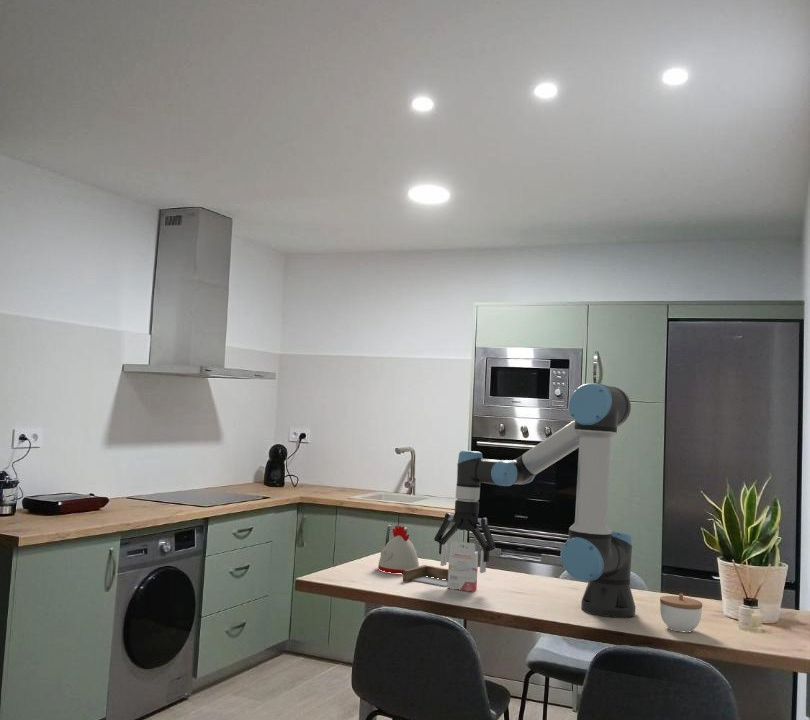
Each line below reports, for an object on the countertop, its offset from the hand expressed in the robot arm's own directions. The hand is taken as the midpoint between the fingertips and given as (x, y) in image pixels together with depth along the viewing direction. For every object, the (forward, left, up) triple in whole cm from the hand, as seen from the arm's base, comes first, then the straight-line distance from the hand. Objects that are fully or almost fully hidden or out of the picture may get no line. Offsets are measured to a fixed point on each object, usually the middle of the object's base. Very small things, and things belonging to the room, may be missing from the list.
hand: (462, 568), depth 237 cm
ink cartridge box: (0, 0, -6) cm, 6 cm away
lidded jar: (-65, 0, -6) cm, 65 cm away
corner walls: (+10, -2, -6) cm, 12 cm away
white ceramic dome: (+29, -10, -7) cm, 31 cm away
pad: (+11, -3, -6) cm, 13 cm away
